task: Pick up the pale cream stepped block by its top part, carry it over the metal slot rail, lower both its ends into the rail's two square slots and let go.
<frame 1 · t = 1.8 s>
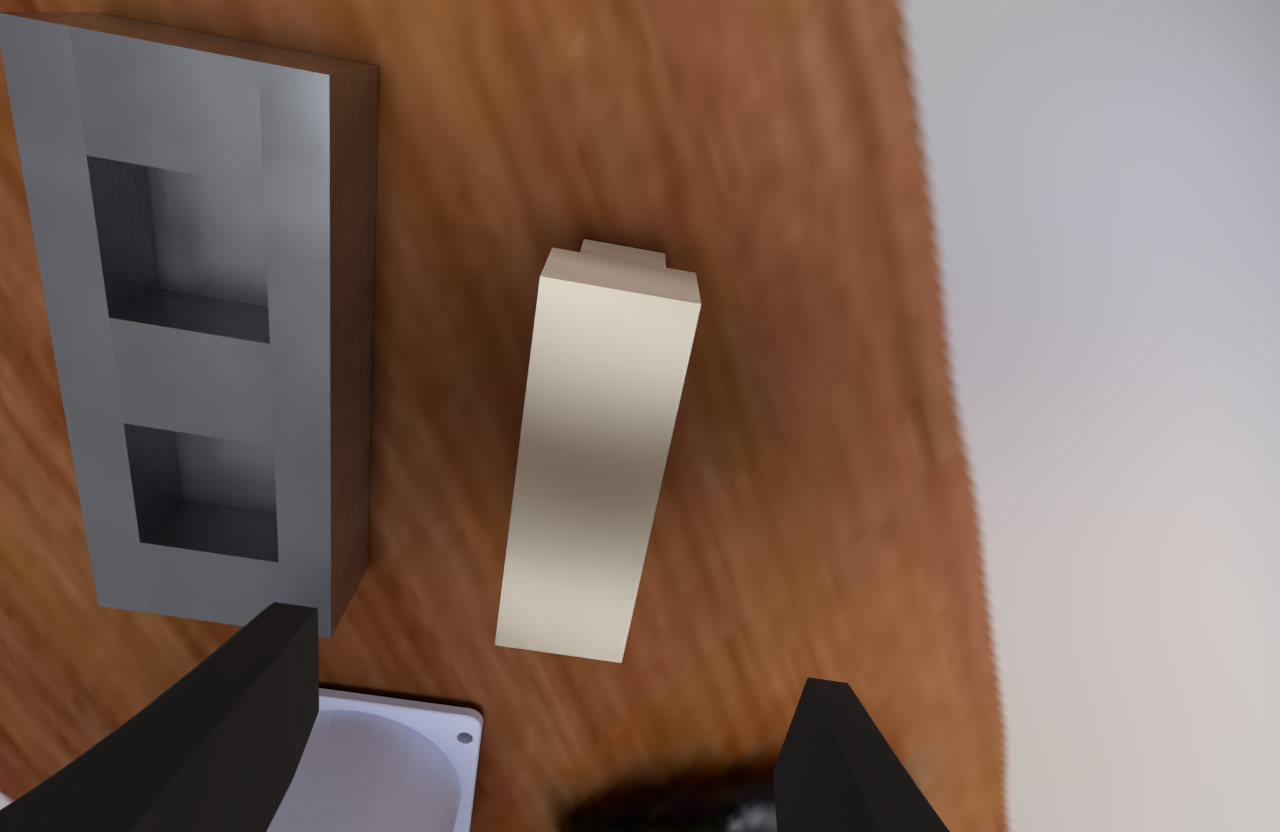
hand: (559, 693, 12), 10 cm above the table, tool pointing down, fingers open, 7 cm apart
cream stepped block: (599, 392, 21), on the table
slot rail: (254, 336, 20), on the table
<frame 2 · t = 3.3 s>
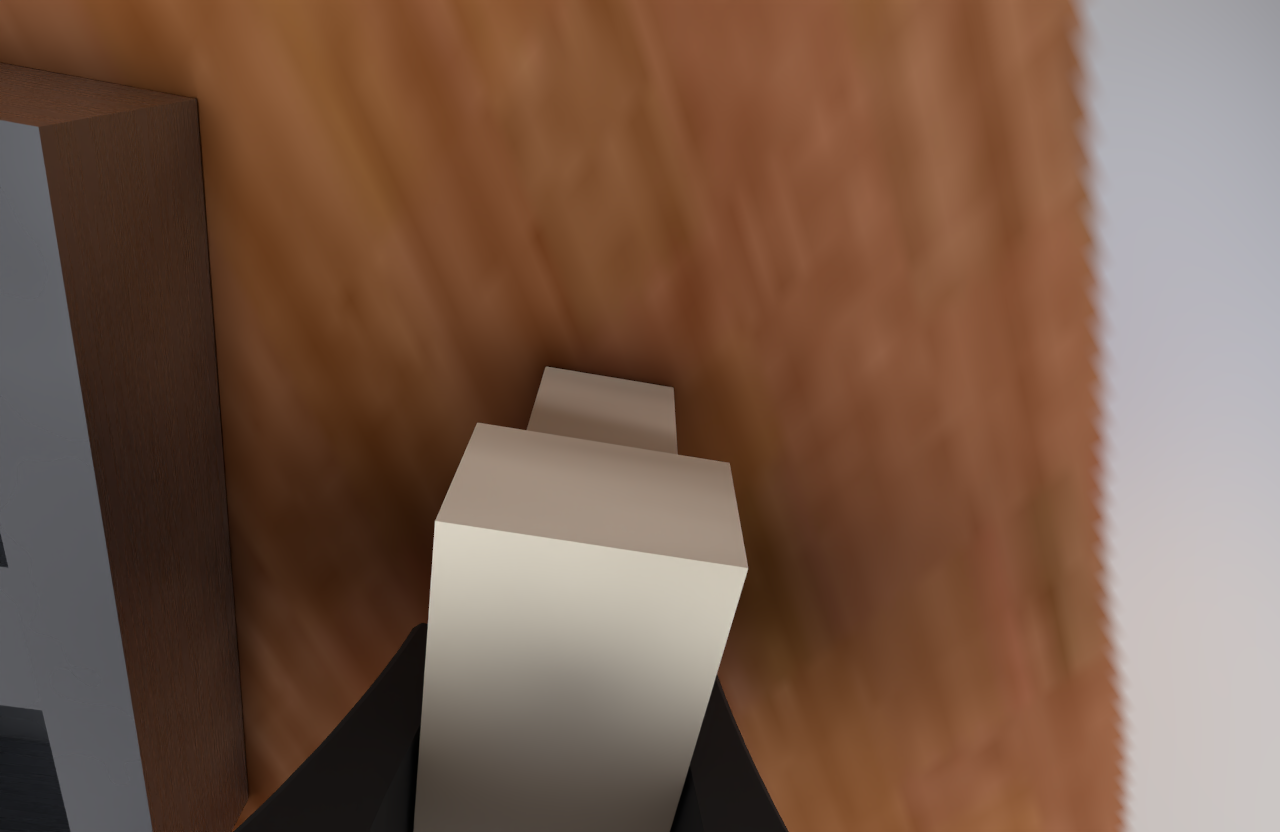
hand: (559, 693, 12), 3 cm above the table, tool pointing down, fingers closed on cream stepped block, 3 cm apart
cream stepped block: (574, 579, 14), on the table, touching gripper
slot rail: (47, 503, 13), on the table
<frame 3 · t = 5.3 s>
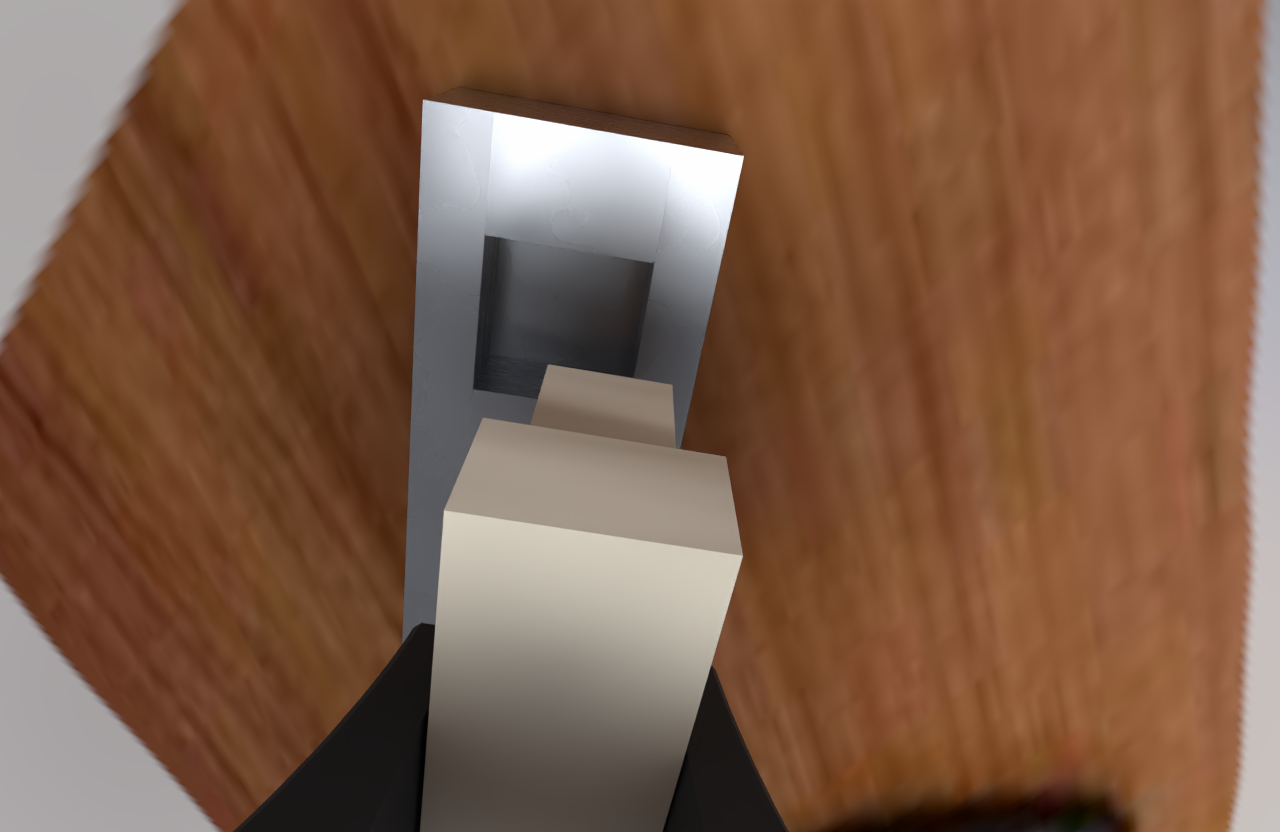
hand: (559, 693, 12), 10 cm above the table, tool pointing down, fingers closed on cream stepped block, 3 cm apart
cream stepped block: (576, 572, 14), point 7 cm above the table, touching gripper
slot rail: (558, 395, 20), on the table
when the fingers open (4 cm above the table, at t = 7.5 s): cream stepped block stays where it is, resting on slot rail.
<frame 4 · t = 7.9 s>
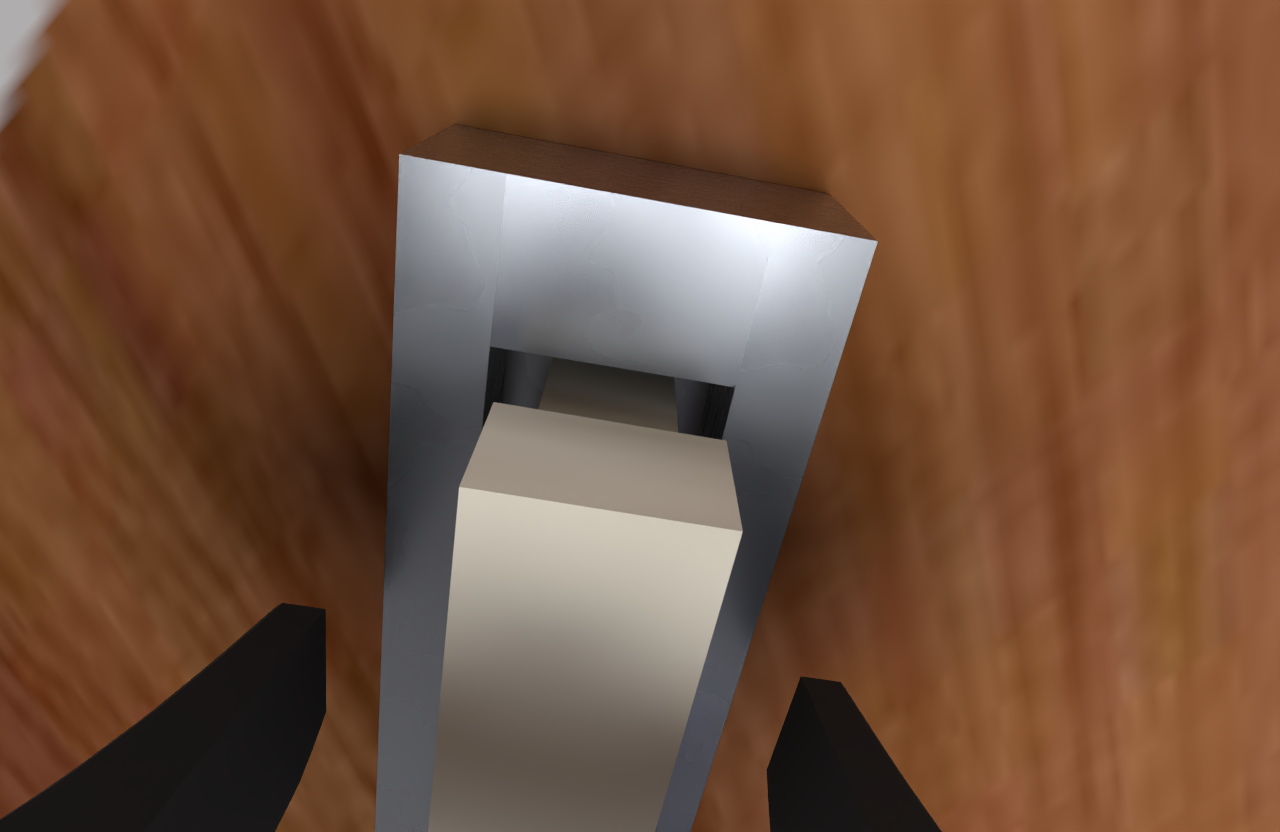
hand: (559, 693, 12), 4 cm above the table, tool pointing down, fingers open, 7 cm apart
cream stepped block: (579, 558, 15), point 1 cm above the table, touching slot rail
slot rail: (582, 522, 15), on the table
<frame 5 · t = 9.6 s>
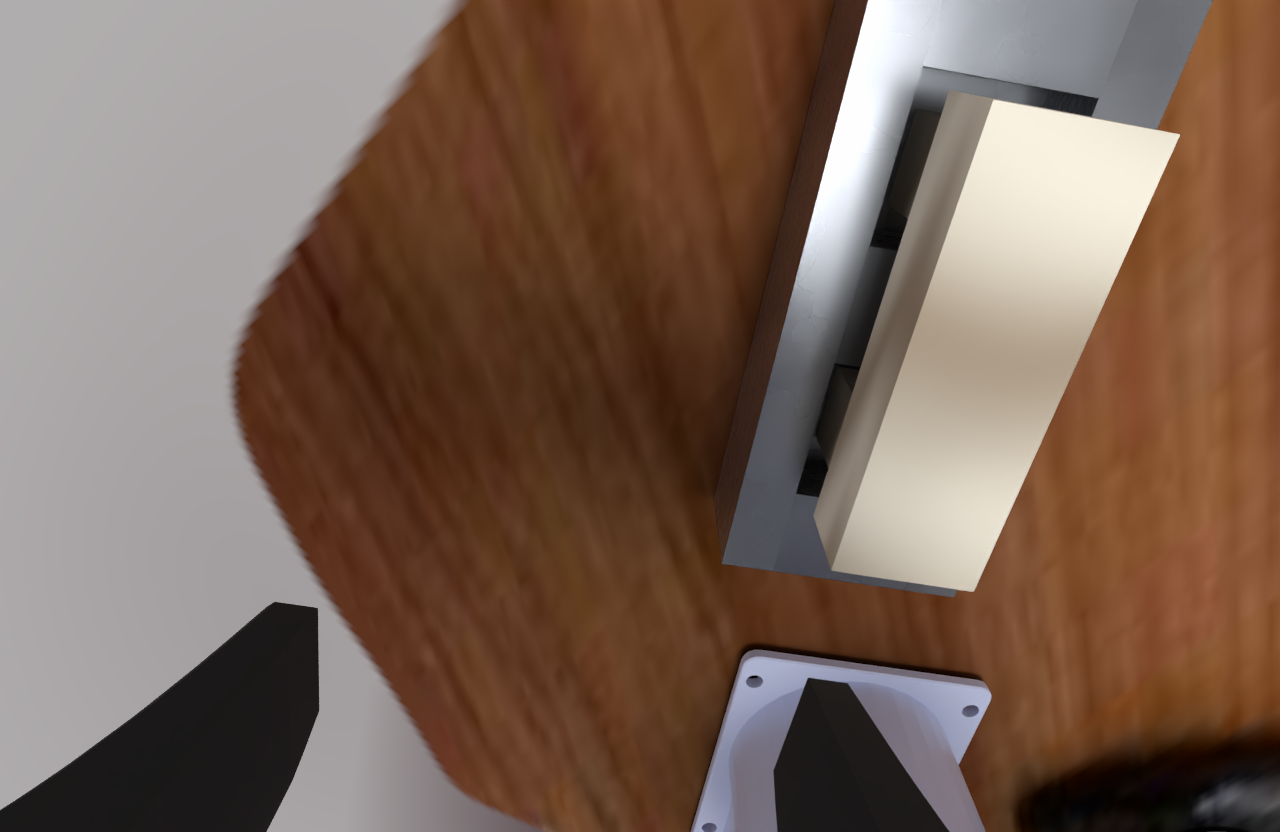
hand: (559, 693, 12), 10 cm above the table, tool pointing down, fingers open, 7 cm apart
cream stepped block: (902, 296, 18), point 1 cm above the table, touching slot rail
slot rail: (891, 278, 19), on the table
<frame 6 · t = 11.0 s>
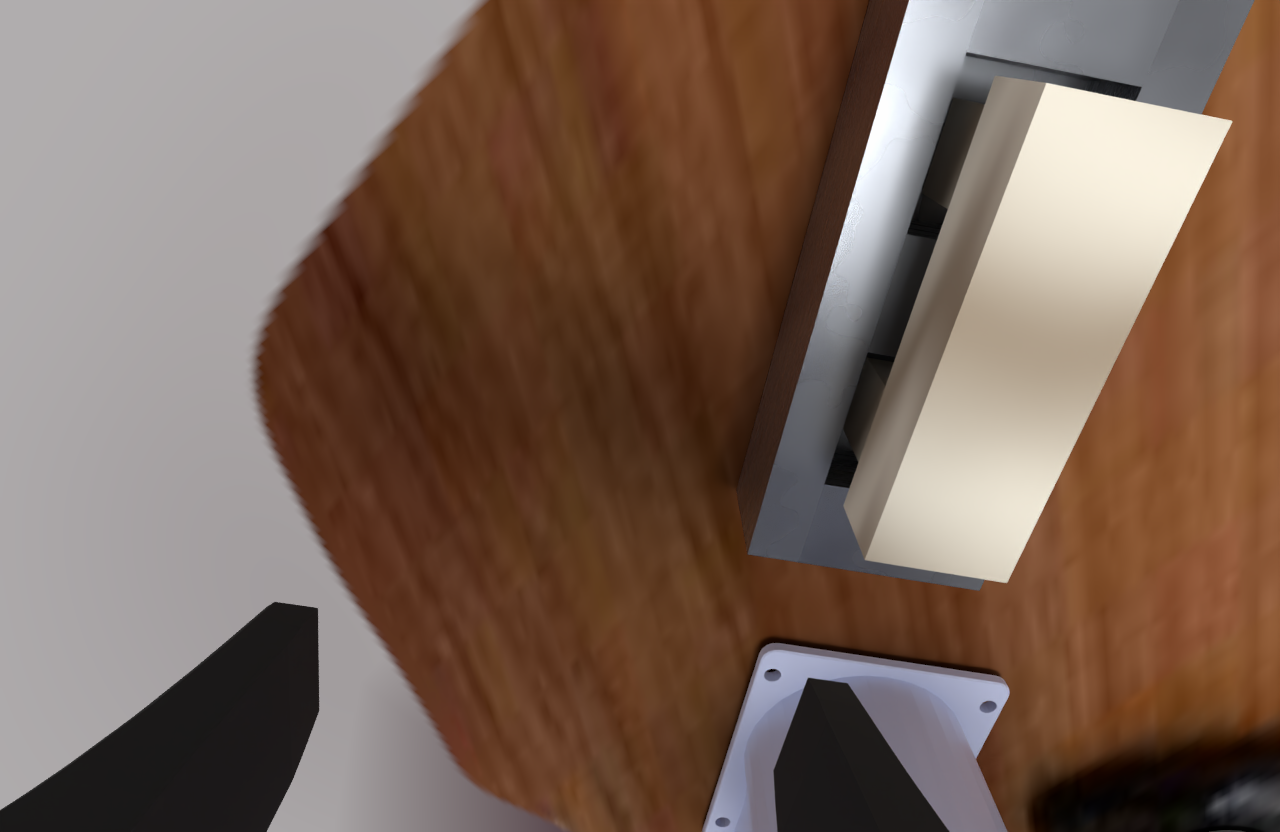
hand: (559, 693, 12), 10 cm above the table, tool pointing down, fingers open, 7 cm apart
cream stepped block: (933, 286, 18), point 1 cm above the table, touching slot rail
slot rail: (921, 269, 19), on the table
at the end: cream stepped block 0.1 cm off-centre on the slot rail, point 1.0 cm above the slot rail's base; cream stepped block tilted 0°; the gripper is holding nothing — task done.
